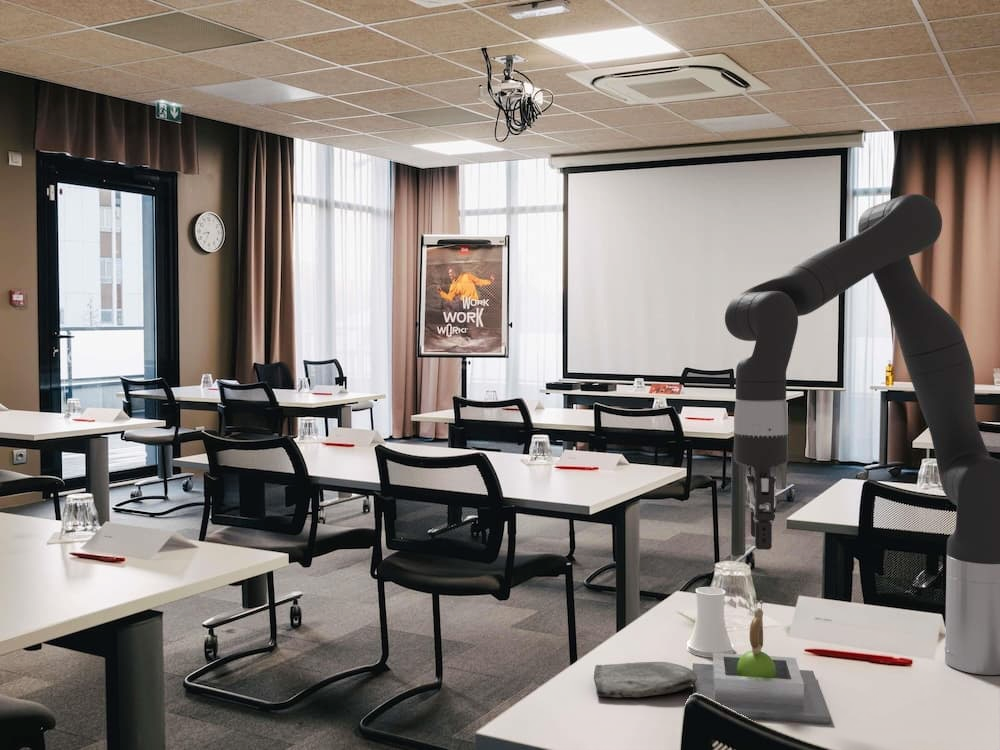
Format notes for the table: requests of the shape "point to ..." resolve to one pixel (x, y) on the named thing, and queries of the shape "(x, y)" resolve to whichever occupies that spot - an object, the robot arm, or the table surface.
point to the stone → (641, 679)
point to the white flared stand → (710, 624)
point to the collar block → (763, 690)
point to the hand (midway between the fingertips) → (760, 542)
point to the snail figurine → (756, 652)
